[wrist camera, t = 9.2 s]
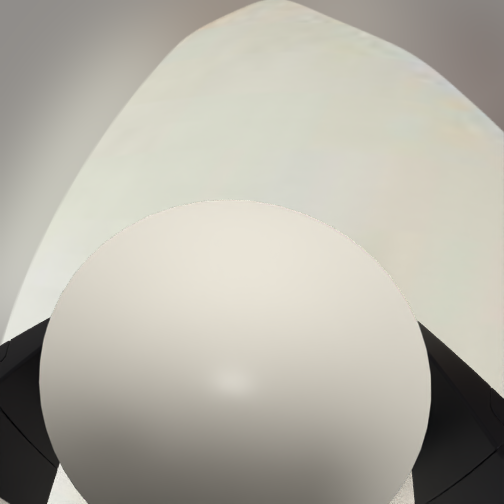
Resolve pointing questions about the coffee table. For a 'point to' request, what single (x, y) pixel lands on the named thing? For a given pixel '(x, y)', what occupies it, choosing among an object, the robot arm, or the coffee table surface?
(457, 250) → the coffee table surface
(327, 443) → the ivory pillar candle
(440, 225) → the coffee table surface
